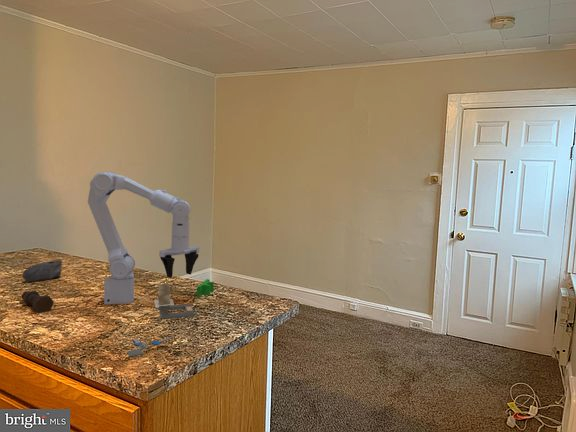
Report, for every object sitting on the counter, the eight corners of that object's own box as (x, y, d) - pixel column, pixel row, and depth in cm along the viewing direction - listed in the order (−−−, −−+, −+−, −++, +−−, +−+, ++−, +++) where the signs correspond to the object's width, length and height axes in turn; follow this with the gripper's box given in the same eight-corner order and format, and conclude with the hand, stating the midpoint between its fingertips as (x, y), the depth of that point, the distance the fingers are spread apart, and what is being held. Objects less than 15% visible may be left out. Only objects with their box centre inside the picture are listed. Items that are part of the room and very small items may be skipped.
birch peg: (159, 305, 139) (159, 287, 138) (158, 301, 142) (158, 284, 141) (170, 304, 140) (170, 286, 139) (169, 301, 143) (169, 283, 143)
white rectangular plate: (155, 309, 136) (155, 307, 136) (153, 302, 144) (153, 300, 144) (174, 308, 138) (174, 306, 138) (172, 301, 146) (172, 298, 146)
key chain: (136, 359, 101) (136, 356, 101) (109, 352, 104) (109, 349, 104) (172, 339, 114) (172, 336, 114) (147, 334, 117) (147, 331, 117)
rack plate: (161, 321, 126) (161, 316, 126) (158, 310, 136) (159, 305, 135) (195, 318, 130) (195, 313, 130) (190, 308, 139) (190, 303, 139)
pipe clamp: (206, 300, 150) (207, 287, 149) (196, 299, 150) (196, 286, 149) (215, 291, 161) (216, 279, 160) (206, 290, 161) (206, 278, 161)
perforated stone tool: (25, 284, 158) (25, 266, 157) (19, 281, 161) (19, 264, 161) (66, 277, 170) (66, 260, 169) (60, 275, 173) (60, 258, 172)
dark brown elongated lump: (29, 306, 140) (47, 315, 131) (14, 301, 137) (31, 311, 127) (38, 289, 142) (56, 298, 132) (23, 284, 138) (41, 292, 129)
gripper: (168, 239, 134) (166, 281, 136) (205, 236, 145) (203, 274, 147) (156, 236, 139) (155, 276, 140) (192, 233, 150) (191, 270, 151)
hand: (179, 275), depth 144 cm, fingers open, 7 cm apart
